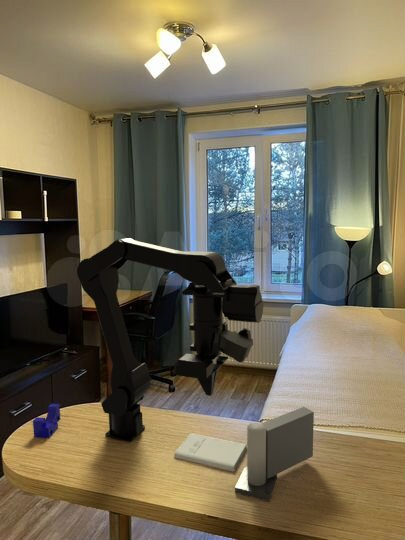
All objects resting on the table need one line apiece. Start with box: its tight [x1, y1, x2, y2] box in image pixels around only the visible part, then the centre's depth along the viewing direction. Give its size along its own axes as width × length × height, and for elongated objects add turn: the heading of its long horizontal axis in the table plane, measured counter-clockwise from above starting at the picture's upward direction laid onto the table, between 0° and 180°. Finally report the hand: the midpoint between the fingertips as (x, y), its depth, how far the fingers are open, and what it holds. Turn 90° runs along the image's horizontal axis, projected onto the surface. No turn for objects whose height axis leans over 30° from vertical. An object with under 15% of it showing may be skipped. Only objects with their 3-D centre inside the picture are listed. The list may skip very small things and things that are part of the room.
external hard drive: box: [173, 432, 247, 472], centre depth 82 cm, size 2×8×12 cm
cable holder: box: [32, 403, 61, 439], centre depth 92 cm, size 8×4×4 cm, turn 172°
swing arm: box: [246, 406, 315, 486], centre depth 74 cm, size 3×15×10 cm, turn 124°
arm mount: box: [234, 466, 278, 502], centre depth 72 cm, size 6×6×1 cm
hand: (209, 394), depth 81 cm, fingers closed
